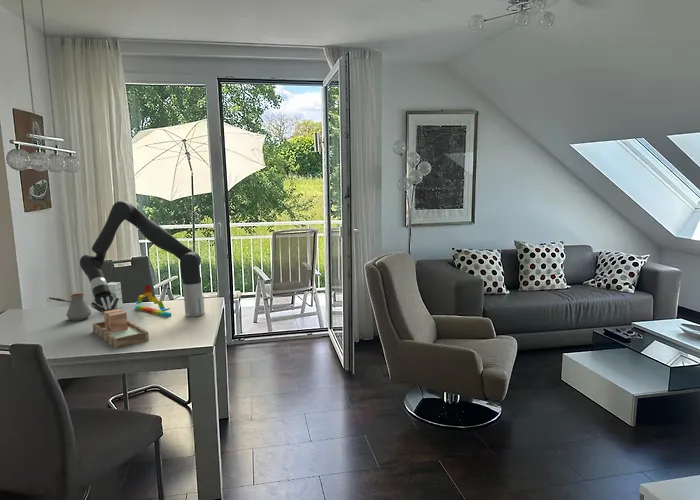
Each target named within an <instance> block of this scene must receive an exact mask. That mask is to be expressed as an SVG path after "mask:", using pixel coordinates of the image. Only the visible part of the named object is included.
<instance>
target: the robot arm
mask: <svg viewBox="0 0 700 500" xmlns="http://www.w3.org/2000/svg"><path fill="white" fill-rule="evenodd" d="M124 221H126V222H129V224H132V225H133V226H134V227H135V228H137V229H138V231H139V232H140V233H141V234H142V236H143V237H144V238H145V239H147V240H148V241H149V242H150V243H152V244H153V245H154V246H156V247H157V248H159V249H161V250H162V251H165V252H168V253H170V254H172V255H173V256H175V257H176V258H177V259H179V260H180V261H179V266H180V267H179V268H180V276H181V280H182V289H183V304H184V315H185V317H189V318H190V317H191V318H193V317H195V318H196V317H200V316H203V315H204V314H205V313H206V312H205V303H204V302H205V299H204V297H205V296H204V295H203V289H202V277H201V276H200V269H199V268H200V265H201V262H202V258H201V256H200V254H198V253H197V252H196V251H194V250H192V249H191V248H190V247H188V246H186V245H184V244H183V243H182V242H180V241H179V239H177V238H176V237H175V236H173V235H172V234H171V233H169V232H168V231H167V230H165V229H164V228H163V227H162V226H160V225H159V224H157V223H156V222H155V221H153V220H152V219H150V218H148V217H147V216H146V215H144V214H143V213H142V212H141V211H140V210H139V209H138V208H137V207H135V205H134V204H133V203H131V202H130V201H126V200H120V201H116V202H115V203H114V204H113V205H112V207H111V209H110V212H109V215H108V217H107V219H106V222H105V224H104V226H103V228H102V230H101V231H100V233H99V235H98V237H97V238H96V240H95V242H94V243H93V245H92V247H91V251H92V252H93V253H95V255H89V254H83V256H81V257H80V259H79V266H80V269H81V270H82V271H83V272H84V274H85V275H86V276H87V278H88V281H89V284H90V288H91V289H90V290H91V292H92V296H93V298H94V300H93V301H92V302H91V303H90V304H91V305H90V307H91V308H93V309H94V310H97V311H98V312H100V313H102V312H103V313H104V312H105V311H110V310H115V309H114V308H115V306H116V305H117V303H118V300H119V298H113V296H112V295H111V292H110V290H109V287H108V282H107V279H106V278H105V275H104V272H103V271H102V270H101V268H102V267H103V266H104V262H105V258H106V255H107V252H108V250H109V249H110V247H111V246H112V243H113V241H114V239H115V237H116V233H117V230H118V228H119V227H120V226H121V224H123V222H124ZM112 300H113V305H112V306H111V305H110V304H111V302H112Z"/></svg>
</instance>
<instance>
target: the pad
mask: <svg viewBox="0 0 700 500" xmlns="http://www.w3.org/2000/svg"><path fill="white" fill-rule="evenodd" d="M138 333H140V332H139V331H137V330H136V329H134V328H131V329H127V330H123V331H118V332H113V333H110V334H111V335H112V336H114V337H115V338H120V337H124V336H129V335H133V334H138Z"/></svg>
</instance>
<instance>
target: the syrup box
mask: <svg viewBox="0 0 700 500" xmlns="http://www.w3.org/2000/svg"><path fill="white" fill-rule="evenodd" d="M107 284H108V287H109V290H110V292H111V295H112V296H113V298H119V300H118V303H117V305H116V306H115V308H114V310H116V309H121V308H123V307H124V305H123V295H122V285H121V281H120V282H119V281H118V282H117V281H116V282H115V281H110V282H107ZM110 305H111V306H112V305H113V300H112V302H111V304H110Z"/></svg>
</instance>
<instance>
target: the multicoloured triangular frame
mask: <svg viewBox="0 0 700 500" xmlns="http://www.w3.org/2000/svg"><path fill="white" fill-rule="evenodd" d="M144 287H145V288H144V293H143V294H140V295H138V298H137V301H135V302H134V304H136V305H135V306H134V310H136V311H141V312H144V313H149V314H152V315H155V316H156V315H157V316H159V317H163V318H169V317H172V312H168V311H169V310H170V309H171V308H170V307H168V308H165V305H164V304H163V301H162V300H158V298H157V297H156V296H153V293H152V288H151V285H150V284H149V285H145V286H144ZM145 297H147V298H148V302H153V304H154V305H158V308H159V309H158V308H157V309H156V308H152V307H148V306H144V305H142V302H143V298H145Z"/></svg>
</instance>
